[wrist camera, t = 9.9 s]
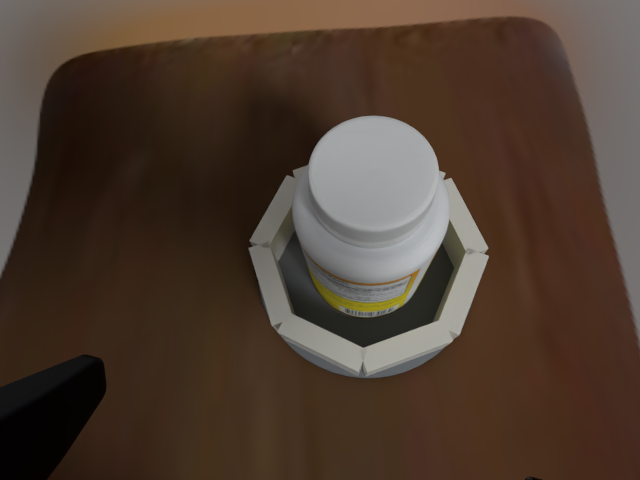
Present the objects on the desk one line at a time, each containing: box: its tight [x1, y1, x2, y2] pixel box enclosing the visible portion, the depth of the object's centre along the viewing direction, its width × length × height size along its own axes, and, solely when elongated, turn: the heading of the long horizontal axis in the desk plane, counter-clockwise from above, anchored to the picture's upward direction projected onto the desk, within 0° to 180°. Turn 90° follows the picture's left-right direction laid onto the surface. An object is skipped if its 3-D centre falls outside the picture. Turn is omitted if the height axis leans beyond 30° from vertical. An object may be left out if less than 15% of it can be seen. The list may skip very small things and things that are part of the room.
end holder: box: [249, 166, 489, 378], centre depth 22 cm, size 11×11×3 cm
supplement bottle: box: [292, 116, 450, 320], centre depth 18 cm, size 6×6×10 cm
